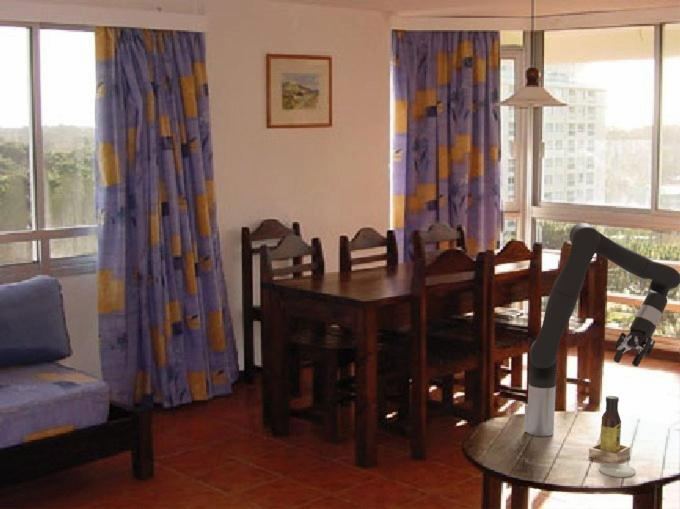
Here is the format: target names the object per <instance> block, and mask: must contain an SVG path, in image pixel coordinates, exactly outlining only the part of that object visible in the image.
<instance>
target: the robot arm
mask: <svg viewBox="0 0 680 509" xmlns="http://www.w3.org/2000/svg"><path fill="white" fill-rule="evenodd" d="M568 237H569V240H570V243H571V246H570V249H569V250H570V251H569V254H568V257H567V260H566V263H565V264H564V267H563V268H562V270H561V271H560V272H559V273H558V276H557V277H556V279H555V281H554V283H553V286H552V288H551V291H550V293H549V297H548V300H547V303H546V306H545V307H546V308H545V311H544V317H543V321H542V324H541V328H540V331H539V333H538V335H537V337H536V339H535V340H533V342H532V344H531V346H530V349H529V372H528V392H527V393H528V394H527V395H528V396H527V404H525V406H524V428H523V429H524V430H523V432H525V433H527V434H528V435H530V436H535V437H550V436H553V435H554V431H555V415H556V414H555V412H556V387H557V369H558V352H559V348H560V344H561V341H562V340H561V339H562V336H563V334H564V332H565V329H566V327H567V325H568V323H569V321H570V319H571V317H572V315H573V313H574V310H575V307H576V305H577V303H578V300H579V297H580V295H581V290H582V287H583V285H584V281H585V278H586V274H587V271H588V268H589V266H590V264H591V262H592V260H593V258H594V256H595V254H597V255H599V256H602V257H603V258H605V259H606V260H608V261H610V262H611V263H613V264H615V265H617V266H618V267H620V268H621V269H623V270H625V271H626V272H628V273H629V274H632V275H635V276H636V277H638V278H640V279H644V280H650V284H649V287H648V292H647V295H646V296H645V299H644V301H643V303H642V304H641V306H640V308H639V309H638V311H637V313H636V314H635V317H634V319H633V321H632V323H631V324H630V327H629V331H630V332H629V333H628V334H626V333H624V332H621V333H620V335H619V337H618V338H617V340H616V342H615V344H614V345H613V347H614V349H615V350H616V353H615V354H614V357H613V361H614V362H615V363H616V364H620V362H621V360H622V358H623V356H624V353H626V352H627V351H630V350H632V349H633V350H634V349H635V350H636V354H635V356H634V357H633V360H632V362H631V365H632V366H633V367H636V368H637V367H639V365H640V364H641V362H642V360H643V358H644V357H650V355H651V352H652V350H653V348H654V346H655V343H656V340H655V339H653V335H654V333H655V331H656V329H657V326H658V324H659V323H660V320H661V317H662V314H664V311H665V309H666V307H667V303H668V298H667V297H668V295H669V294H668V293H669V291H671V290H673V289H676V288H677V287H679V286H680V272H679V271H678V270H677V269H676V268H674V267H671V266H670V265H667V264H664V263H661V262H658V261H655V260H652V259H650V258H649V257H647V256H644V255H643V254H641V253H638V252H637V251H634V250H632V249H630V248H628V247H626V246H624V245H621V244H620V243H617V242H615V241H614V240H612V239H610V238H608V237H607V236H605V235H604V234H602V233H601V232H600V231H599V230H597V229H596V228H595V227H594V226H593V225H591V224H590V223H586V222H581V223H576V224H575V225H573V227H572V228H571V229H570V230H569V236H568Z"/></svg>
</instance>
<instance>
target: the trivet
mask: <svg viewBox="0 0 680 509" xmlns="http://www.w3.org/2000/svg"><path fill="white" fill-rule="evenodd" d="M598 469H599V470H600V471H599V472H600V473H601V474H603V475H606V476H609V477H613V476H615V477H614V478H630V477H633V476H635V475H636V469H635V468H634V467H633V466H630V465H627V464H624V463H620V462H618V463H611V462H607V463H602V464H600V465H599V466H598Z"/></svg>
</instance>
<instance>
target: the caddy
mask: <svg viewBox="0 0 680 509" xmlns="http://www.w3.org/2000/svg"><path fill="white" fill-rule="evenodd" d="M588 449H589V450H588V457H589V458H591V457H592V458H591V459H595V458H596V460H599V461H604V462H607V463H620V462H621V461H624V460H625V459H627V458H628V457H630V456H631V446H628V445H625V444H621V443H620V451H619V452H617V453H616V454H614V453H610V452H606V451H602V450H600V442H598V443H597V444H594V445H592V446H590V447H589V448H588ZM619 461H620V462H619Z"/></svg>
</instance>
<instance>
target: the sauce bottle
mask: <svg viewBox="0 0 680 509" xmlns="http://www.w3.org/2000/svg"><path fill="white" fill-rule="evenodd" d="M619 400H620V399H619V396H616V395H606V396H605V402H606V405H605V411H604V413H603V414H602V416H601V424H600V440H599V441H600V442H599V443H600V450H602V451H606V452H610V453H614V454H616V453H617V452H619V451H620V444H621V432H622V420H621V419H622V418H621V416H620V414H619V402H620V401H619Z"/></svg>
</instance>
